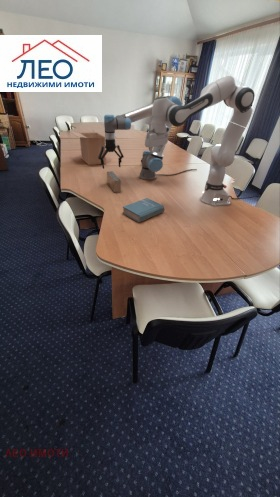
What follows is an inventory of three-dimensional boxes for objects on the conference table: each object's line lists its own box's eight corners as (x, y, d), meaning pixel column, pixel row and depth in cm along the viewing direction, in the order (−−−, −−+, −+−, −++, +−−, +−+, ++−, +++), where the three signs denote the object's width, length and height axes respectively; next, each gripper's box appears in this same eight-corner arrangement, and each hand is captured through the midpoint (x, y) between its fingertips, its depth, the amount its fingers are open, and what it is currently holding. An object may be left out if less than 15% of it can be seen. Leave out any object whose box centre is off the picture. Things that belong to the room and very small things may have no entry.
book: (146, 204, 158) (147, 197, 155) (163, 212, 149) (164, 206, 146) (122, 213, 145) (122, 206, 142) (139, 223, 136) (140, 216, 133)
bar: (106, 182, 188) (106, 171, 183) (112, 182, 190) (112, 171, 185) (114, 192, 172) (114, 180, 167) (120, 192, 174) (120, 180, 168)
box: (116, 165, 229) (116, 136, 213) (83, 168, 214) (80, 137, 198) (102, 154, 259) (101, 128, 243) (71, 156, 244) (68, 129, 228)
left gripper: (94, 140, 159) (97, 170, 172) (127, 138, 167) (127, 167, 180) (92, 138, 165) (95, 167, 177) (124, 137, 172) (124, 164, 185)
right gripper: (151, 131, 125) (149, 156, 134) (171, 128, 139) (168, 151, 147) (143, 129, 128) (141, 154, 137) (163, 126, 142) (160, 149, 150)
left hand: (111, 167), depth 179 cm, fingers open, 13 cm apart
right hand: (155, 153), depth 142 cm, fingers open, 8 cm apart
